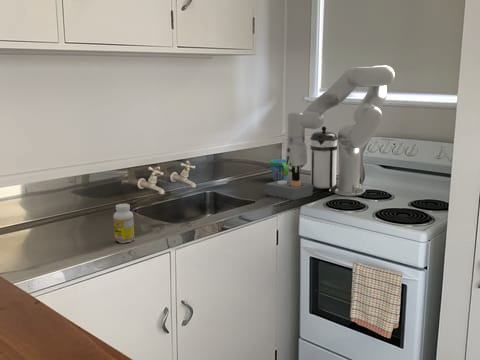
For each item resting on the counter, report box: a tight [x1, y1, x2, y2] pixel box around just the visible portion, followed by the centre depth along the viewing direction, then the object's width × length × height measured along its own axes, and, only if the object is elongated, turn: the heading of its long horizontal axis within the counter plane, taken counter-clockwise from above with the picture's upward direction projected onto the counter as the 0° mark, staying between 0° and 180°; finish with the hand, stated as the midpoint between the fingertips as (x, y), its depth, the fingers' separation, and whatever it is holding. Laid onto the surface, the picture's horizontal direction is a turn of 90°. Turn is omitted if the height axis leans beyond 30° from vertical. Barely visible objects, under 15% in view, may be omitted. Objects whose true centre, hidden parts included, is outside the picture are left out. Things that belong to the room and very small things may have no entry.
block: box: [265, 179, 313, 201], centre depth 249 cm, size 17×13×5 cm
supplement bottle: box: [112, 203, 135, 240], centre depth 186 cm, size 7×7×13 cm
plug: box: [277, 181, 287, 185], centre depth 251 cm, size 4×4×5 cm
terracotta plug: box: [290, 179, 302, 187], centre depth 245 cm, size 4×4×5 cm
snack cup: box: [269, 158, 290, 182], centre depth 280 cm, size 16×10×10 cm
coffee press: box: [309, 125, 338, 193], centre depth 258 cm, size 17×16×30 cm
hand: (295, 180), depth 244 cm, fingers closed
